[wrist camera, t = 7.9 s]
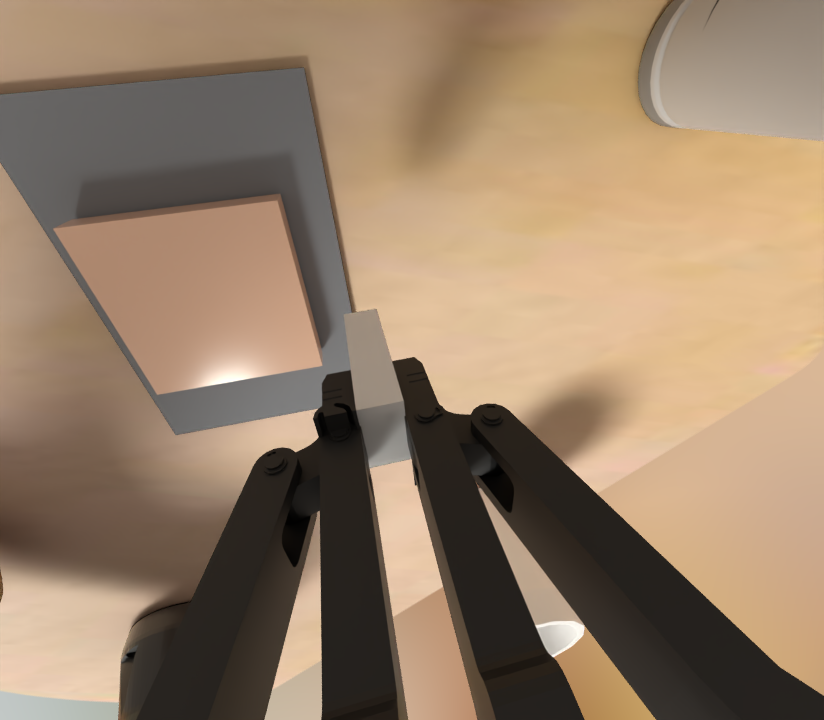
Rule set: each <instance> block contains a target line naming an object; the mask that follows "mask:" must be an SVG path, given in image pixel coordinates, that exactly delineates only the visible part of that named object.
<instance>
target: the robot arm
mask: <svg viewBox="0 0 824 720" xmlns="http://www.w3.org/2000/svg"><path fill="white" fill-rule="evenodd" d="M344 321H345V329H346V336H347V344H348V352H349V360H350V367H351V370H348V371H342V372H337V373H332V374H327V375H326V377H325V379H324V380H323V382H322V406H321V407H320V408H319V409H318V410H317V411H316V412H315V414H314V418H313V420H314V423H315V426H316V429H317V433H318V436H319V438H318V439H317V440H316V441H315V442H314V443H312V444H311V445H310V446H308V447H306V448H304V449H302V450H300V451H298V452H296V453H295V452H294V451H293V450H291V449H289V448H277V449H273V450H271V451H269V452H266V453H265V454H264V455H262V456H261V457H260V458H259V459H258V460H257V461H256V463H255V464H254V466H253V468H252V470H251V473H250V475H249V477H248V479H247V481H246V483H245V486H244V488H243V490H242V492H241V494H240V496H239V499H238V501H237V503H236V505H235V507H234V509H233V511H232V514H231V516H230V518H229V520H228V522H227V524H226V527H225V529H224V531H223V533H222V535H221V537H220V540H219V542H218V544H217V546H216V548H215V550H214V553H213V555H212V557H211V559H210V561H209V563H208V566H207V568H206V570H205V572H204V574H203V576H202V578H201V581H200V583H199V585H198V587H197V589H196V591H195V594H194V596H193V598H192V600H191V602H190V603H185V604H180V605H176V606H172V607H168V608H165V609H162V610H159V611H156V612H154V613H152V614H150V615H148V616H146V617H144V618H143V619H141V620H140V621H138V622H137V623H136V624H135V625H134V626H133V627H132V629H131V630H130V633H129V635H128V638H127V641H126V644H125V647H124V649H123V653H122V657H121V671H120V692H119V714H118V720H264V719H265V715H266V711H267V707H268V703H269V699H270V695H271V691H272V688H273V684H274V680H275V676H276V672H277V668H278V664H279V660H280V657H281V653H282V649H283V645H284V641H285V637H286V633H287V629H288V626H289V622H290V618H291V614H292V610H293V606H294V602H295V599H296V595H297V591H298V587H299V583H300V579H301V575H302V571H303V568H304V564H305V560H306V556H307V552H308V548H309V544H310V540H311V537H312V533H313V529H314V525H315V521H316V517H317V512H318V511H320V553H321V639H322V719H321V720H408V716H407V709H406V702H405V696H404V689H403V683H402V676H401V669H400V663H399V656H398V650H397V643H396V636H395V630H394V624H393V616H392V610H391V603H390V596H389V590H388V583H387V577H386V570H385V563H384V557H383V550H382V543H381V537H380V530H379V524H378V517H377V510H376V504H375V497H374V491H373V484H372V478H371V474H370V469H369V468H372V467H377V466H381V465H386V464H390V463H395V462H399V461H404V460H408V459H412V464H413V472H414V480H415V485H417V487H418V491H419V495H420V499H421V503H422V506H423V510H424V514H425V518H426V522H427V526H428V530H429V533H430V537H431V541H432V545H433V549H434V553H435V556H436V560H437V564H438V568H439V572H440V576H441V579H442V583H443V587H444V591H445V595H446V598H447V603H448V606H449V610H450V614H451V618H452V622H453V626H454V629H455V633H456V637H457V641H458V645H459V649H460V652H461V656H462V660H463V664H464V667H465V672H466V675H467V679H468V683H469V687H470V691H471V695H472V698H473V702H474V706H475V710H476V715H477V719H478V720H584V718H583V715H582V713H581V710H580V708H579V706H578V703H577V701H576V699H575V697H574V694H573V692H572V690H571V688H570V685H569V683H568V681H567V679H566V677H565V675H564V673H563V671H562V669H561V667H560V666H559V664H558V663H557V661H556V660H555V659H554V658H553V657H552V656H551V655H550V654H549V653H548V652H547V650H546V648H545V647H544V644H543V642H542V640H541V638H540V635H539V633H538V631H537V628H536V626H535V623H534V621H533V619H532V616H531V614H530V612H529V609H528V607H527V604H526V602H525V600H524V597H523V595H522V592H521V590H520V588H519V585H518V583H517V580H516V578H515V576H514V573H513V571H512V568H511V566H510V564H509V561H508V559H507V556H506V554H505V552H504V549H503V547H502V544H501V542H500V540H499V537H498V535H497V532H496V530H495V528H494V525H493V523H492V520H491V518H490V516H489V513H488V511H487V508H486V506H485V504H484V501H483V499H482V497H481V494H480V492H479V489H478V487H477V485H476V483H477V484H478V485H479V487H480V488H481V489H482V491H483V492H484V493H485V495H486V496H487V497H488V498H489V500H490V501H491V502H492V504H493V505H494V506H495V508H496V509H497V510H498V512H499V513H500V514H501V516H502V517H503V518H504V520H505V521H506V522H507V524H508V525H509V526H510V527H511V529H512V530H513V531H514V533H515V534H516V535H517V537H518V538H519V539H520V541H521V542H522V543H523V545H524V546H525V547H526V549H527V550H528V551H529V553H530V554H531V555H532V557H533V558H534V559H535V560H536V562H537V563H538V564H539V566H540V567H541V568H542V570H543V571H544V572H545V574H546V575H547V576H548V578H549V579H550V580H551V582H552V583H553V584H554V586H555V587H556V588H557V590H558V591H559V592H560V593H561V595H562V596H563V597H564V599H565V600H566V601H567V603H568V604H569V605H570V607H571V608H572V609H573V611H574V612H575V613H576V615H577V616H578V617H579V619H580V620H581V621H582V622H583V624H584V625H585V626H586V628H587V629H588V630H589V632H590V633H591V634H592V636H593V637H594V638H595V639H596V641H597V642H598V644H599V645H600V646H601V648H602V649H603V650H604V652H605V653H606V654H607V655H608V657H609V658H610V659H611V661H612V662H613V663H614V665H615V666H616V667H617V669H618V670H619V671H620V673H621V674H622V675H623V677H624V678H625V679H626V680H627V682H628V683H629V685H631V687H632V688H633V690H634V691H635V692H636V694H637V695H638V696H639V698H640V699H641V700H642V702H643V703H644V704H645V706H646V707H647V708H648V710H649V711H650V712H651V714H652V715H653V716H654V717H655V719H656V720H824V696H823V695H822V694H820V693H818V692H817V691H815V690H814V689H812V688H811V687H809V686H808V685H806V684H805V683H803V682H802V681H800V680H799V679H797V678H795V677H794V676H792V675H791V674H789V673H788V672H786V671H785V670H783V669H781V668H780V667H779V666H778V665H777V664H776V663H775V662H773V661H772V660H771V659H770V658H769V657H768V656H767V655H766V654H765V653H764V652H763V651H762V650H761V649H760V648H759V647H758V646H757V645H756V644H755V643H753V642H752V641H751V640H750V639H749V638H748V637H747V636H746V635H745V634H744V633H743V632H742V631H741V630H740V629H739V628H738V627H736V625H735V624H733V623H732V622H731V621H730V620H729V619H728V618H727V617H726V616H725V615H724V614H723V613H722V612H721V611H720V610H719V609H718V608H716V606H714V605H713V604H712V603H711V602H710V601H709V600H708V599H707V598H706V597H705V596H704V595H703V594H702V593H701V592H700V591H699V590H698V589H696V588H695V587H694V586H693V585H692V584H691V583H690V582H689V581H688V580H687V579H686V578H685V577H684V576H683V575H682V574H681V573H680V572H679V571H677V570H676V569H675V568H674V567H673V566H672V565H671V564H670V563H669V562H668V561H667V560H666V559H665V558H664V557H663V556H662V555H661V554H660V553H659V552H658V551H656V550H655V549H654V548H653V547H652V546H651V545H650V544H649V543H648V542H647V541H646V540H645V539H644V538H643V537H642V536H641V535H639V533H638V532H636V531H635V530H634V529H633V528H632V527H631V526H630V525H629V524H628V523H627V522H626V521H625V520H624V519H623V518H622V517H621V516H620V515H619V514H617V513H616V512H615V511H614V510H613V509H612V508H611V507H610V506H609V505H608V504H607V503H606V502H605V501H604V500H603V499H602V498H601V497H600V496H598V495H597V494H596V493H595V492H594V491H593V490H592V489H591V488H590V487H589V486H588V485H587V484H586V483H585V482H584V481H583V480H582V479H581V478H580V477H578V476H577V475H576V474H575V473H574V472H573V471H572V470H571V469H570V468H569V467H568V466H567V465H566V464H565V463H564V462H563V461H562V460H561V459H560V458H558V457H557V456H556V455H555V454H554V453H553V452H552V451H551V450H550V449H549V448H548V447H547V446H546V445H545V444H544V443H543V442H542V441H541V440H539V439H538V438H537V437H536V436H535V435H534V434H533V433H532V432H531V431H530V430H529V429H528V428H527V427H526V426H525V425H524V424H523V423H522V422H521V421H519V420H518V419H517V418H516V417H515V416H514V415H513V414H512V413H511V412H510V411H509V410H508V409H506V408H505V407H503V406H500V405H497V404H483V405H480V406H478V407H476V408H475V409H474V410H473V412H472V413H471V415H463V414H454V413H451V412H448V411H446V410H445V409H444V408H443V407H442V406H441V405H439V403H438V401H437V399H436V396H435V394H434V391H433V389H432V386H431V384H430V381H429V380H428V377H427V374H426V372H425V369H424V367H423V364H422V363H421V362H420V361H418V360H417V359H416V358H415V357H412V358H407V359H402V360H396V361H392V360H391V356H390V353H389V349H388V346H387V343H386V339H385V336H384V332H383V329H382V326H381V322H380V319H379V315H378V312H377V309H373V310H367V311H361V312H355V313H349V314H344ZM475 481H476V482H475Z"/></svg>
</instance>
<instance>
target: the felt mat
mask: <svg viewBox="0 0 824 720" xmlns="http://www.w3.org/2000/svg"><path fill="white" fill-rule="evenodd" d="M0 163H1V164H2V166H3V167H4V169H5V170H6V172H7V173H8V175H9V177H10V178H11V180H12V181H13V183H14V184H15V186H16V187H17V189H18V190H19V192H20V194H21V195H22V197H23V198H24V200H25V201H26V203H27V204H28V206H29V208H30V209H31V211H32V212H33V214H34V215H35V217H36V218H37V220H38V222H39V223H40V225H41V226H42V228H43V229H44V231H45V232H46V234H47V236H48V237H49V239H50V240H51V242H52V243H53V245H54V246H55V248H56V250H57V251H58V253H59V254H60V256H61V257H62V259H63V260H64V262H65V264H66V265H67V267H68V268H69V270H70V271H71V273H72V274H73V276H74V278H75V279H76V281H77V282H78V284H79V285H80V287H81V288H82V290H83V292H84V293H85V295H86V296H87V298H88V299H89V301H90V302H91V304H92V306H93V307H94V309H95V310H96V312H97V313H98V315H99V316H100V318H101V320H102V321H103V323H104V324H105V326H106V327H107V329H108V330H109V332H110V334H111V335H112V337H113V338H114V340H115V341H116V343H117V344H118V346H119V348H120V349H121V351H122V352H123V354H124V355H125V357H126V358H127V360H128V362H129V363H130V365H131V366H132V368H133V369H134V371H135V372H136V374H137V375H138V377H139V379H140V380H141V382H142V383H143V385H144V386H145V388H146V389H147V391H148V393H149V394H150V396H151V397H152V399H153V400H154V402H155V403H156V405H157V407H158V408H159V410H160V411H161V413H162V414H163V416H164V417H165V419H166V421H167V422H168V424H169V425H170V427H171V428H172V430H173V431H174V433H175V435H179V434H184V433H190V432H195V431H200V430H206V429H211V428H217V427H222V426H227V425H233V424H238V423H243V422H249V421H254V420H259V419H265V418H270V417H275V416H281V415H286V414H291V413H297V412H302V411H307V410H313V409H318V408H320V407H321V406H322V382H323V380H324V379H325V377H326V375H327V374H332V373H337V372H342V371H348V370H351V367H350V360H349V352H348V344H347V336H346V329H345V321H344V314H349V313H352V311H351V306H350V300H349V295H348V290H347V285H346V280H345V275H344V270H343V265H342V259H341V254H340V249H339V244H338V239H337V234H336V229H335V224H334V219H333V213H332V208H331V203H330V198H329V193H328V188H327V183H326V178H325V172H324V167H323V162H322V157H321V152H320V147H319V142H318V137H317V131H316V126H315V121H314V116H313V111H312V106H311V101H310V96H309V90H308V85H307V80H306V75H305V70H304V67H303V68H292V69H281V70H270V71H258V72H247V73H236V74H225V75H214V76H202V77H191V78H180V79H169V80H157V81H146V82H135V83H124V84H113V85H101V86H90V87H79V88H68V89H56V90H45V91H34V92H23V93H12V94H0ZM272 194H281V198H282V202H283V205H284V209H285V213H286V217H287V220H288V224H289V228H290V232H291V236H292V239H293V243H294V247H295V251H296V254H297V258H298V262H299V266H300V269H301V273H302V277H303V281H304V285H305V288H306V292H307V296H308V300H309V303H310V307H311V311H312V315H313V318H314V322H315V326H316V330H317V333H318V337H319V341H320V345H321V349H322V366H319V367H313V368H308V369H302V370H296V371H290V372H285V373H279V374H273V375H268V376H262V377H256V378H250V379H245V380H239V381H233V382H228V383H222V384H216V385H211V386H205V387H199V388H193V389H188V390H182V391H176V392H171V393H165V394H159V395H157V394H156V392H155V390H154V389H153V387H152V386H151V384H150V382H149V381H148V379H147V378H146V376H145V374H144V373H143V371H142V370H141V368H140V366H139V365H138V363H137V362H136V360H135V358H134V357H133V355H132V354H131V352H130V351H129V349H128V347H127V346H126V344H125V343H124V341H123V339H122V338H121V336H120V335H119V333H118V331H117V330H116V328H115V327H114V325H113V323H112V322H111V320H110V319H109V317H108V316H107V314H106V312H105V311H104V309H103V308H102V306H101V304H100V303H99V301H98V300H97V298H96V296H95V295H94V293H93V292H92V290H91V288H90V287H89V285H88V284H87V282H86V280H85V279H84V277H83V276H82V274H81V273H80V271H79V269H78V268H77V266H76V265H75V263H74V261H73V260H72V258H71V257H70V255H69V253H68V252H67V250H66V249H65V247H64V245H63V244H62V242H61V241H60V239H59V237H58V236H57V234H56V233H55V231H54V230H53V228H55V227H57V226H59V225H61V224H63V223H65V222H68V221H70V220H72V219H79V218H87V217H95V216H103V215H111V214H119V213H127V212H135V211H143V210H151V209H159V208H167V207H175V206H183V205H191V204H199V203H208V202H216V201H224V200H232V199H240V198H248V197H256V196H264V195H272Z"/></svg>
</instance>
